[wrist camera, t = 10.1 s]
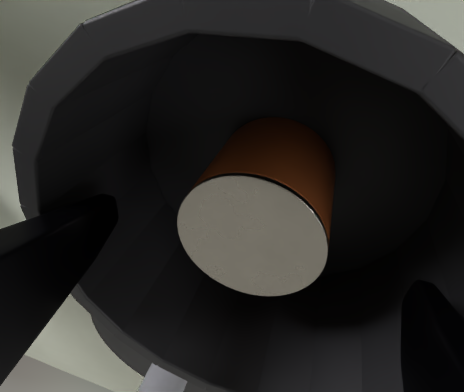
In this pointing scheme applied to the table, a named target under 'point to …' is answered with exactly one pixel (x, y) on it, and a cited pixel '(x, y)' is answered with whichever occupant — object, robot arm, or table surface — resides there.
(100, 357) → the table surface
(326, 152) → the cylinder
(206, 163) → the dark grey round container
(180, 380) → the lid
